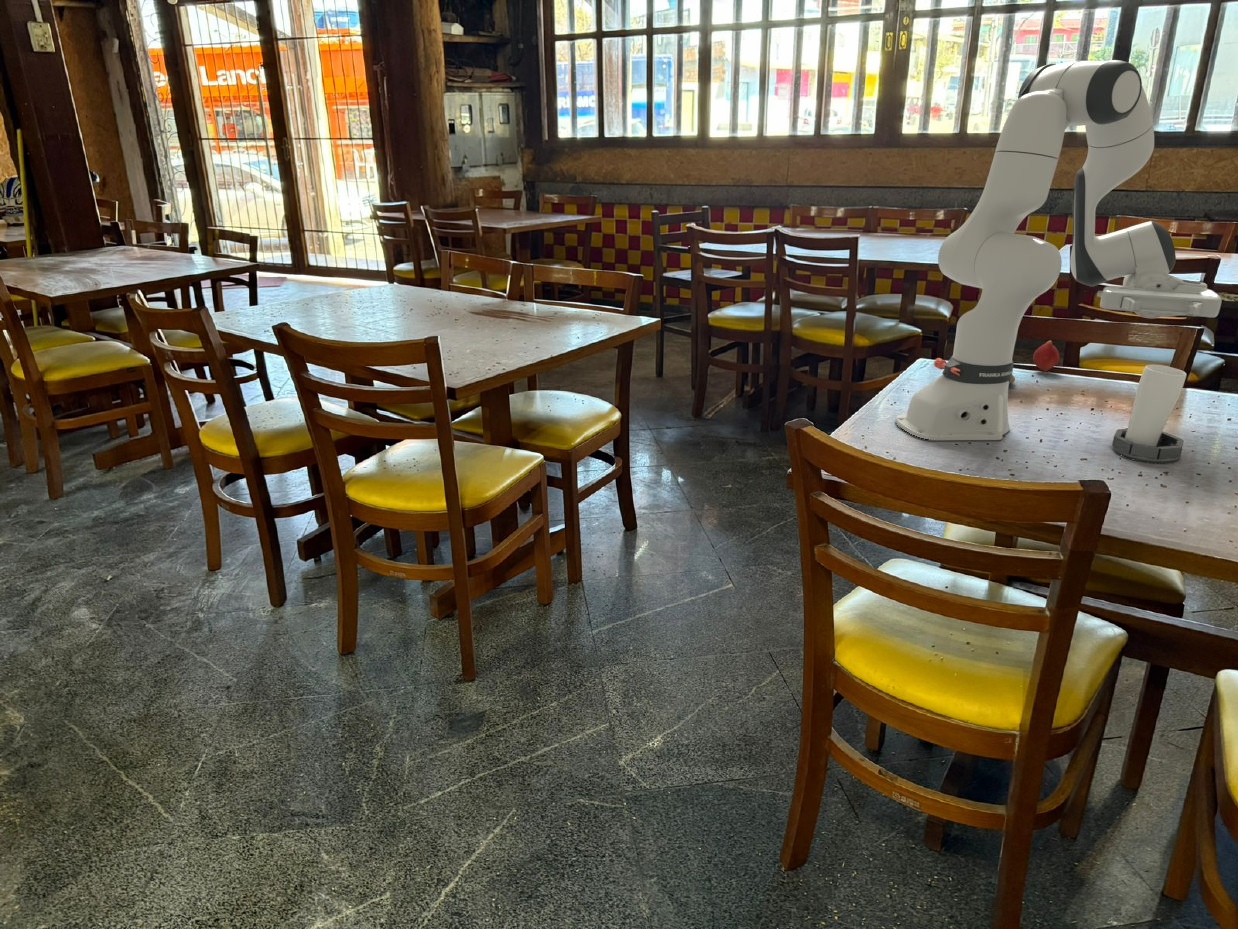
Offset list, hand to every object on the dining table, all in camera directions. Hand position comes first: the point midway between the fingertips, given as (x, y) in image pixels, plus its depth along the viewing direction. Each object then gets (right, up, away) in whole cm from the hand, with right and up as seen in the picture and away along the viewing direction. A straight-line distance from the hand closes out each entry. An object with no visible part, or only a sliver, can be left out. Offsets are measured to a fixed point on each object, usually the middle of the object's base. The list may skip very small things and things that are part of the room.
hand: (1164, 309), depth 160 cm
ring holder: (-4, -27, -1) cm, 28 cm away
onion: (+3, -6, +52) cm, 52 cm away
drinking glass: (-5, -26, -1) cm, 27 cm away
